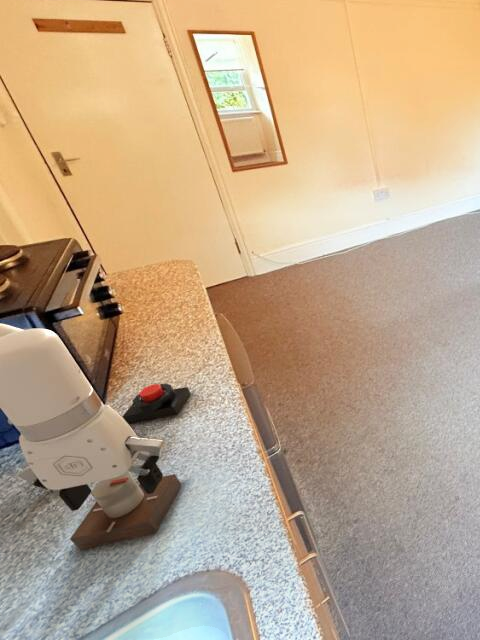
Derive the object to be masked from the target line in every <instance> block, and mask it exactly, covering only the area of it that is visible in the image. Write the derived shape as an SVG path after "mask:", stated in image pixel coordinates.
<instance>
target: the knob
mask: <svg viewBox="0 0 480 640" xmlns="http://www.w3.org/2000/svg"><path fill="white" fill-rule="evenodd" d="M137 482H138V481H136V479H135V478H134V477H133V475H132V474H131V472H129V471H127V473H125V474H124V475H122V476H119V477H116V478H112V479H108V480H103V481H99V482H97V483H96V485H95V486H94V487H93V488H92V489H91V496H92V497H93V499H94V500H95V502H96V501H97V503H98V504H99V505H100V507H101V508H102V509H103V510H104V512H105V513H106V514H107V516H108V517H110V518H117V517H121V516H123V515H125V514H127V513H129V512H130V511H132V510H133V509H135V508H136V507H137V506H138V505H139V504H140V502H141V501H142V499H143V497H144V493H143V491H142V490H141V488H140V487H139V485H138V484H137Z"/></svg>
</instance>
